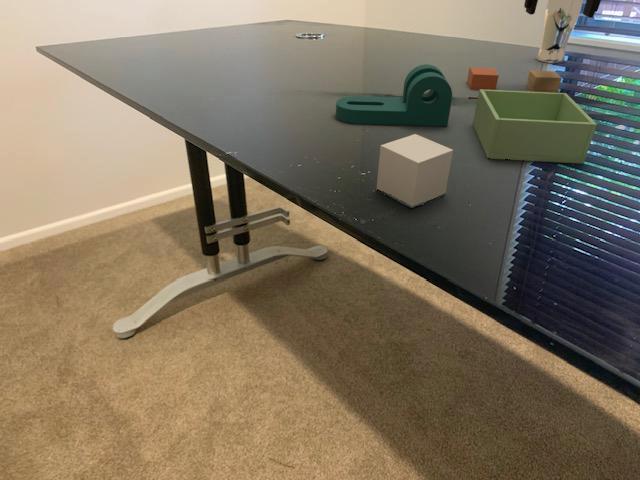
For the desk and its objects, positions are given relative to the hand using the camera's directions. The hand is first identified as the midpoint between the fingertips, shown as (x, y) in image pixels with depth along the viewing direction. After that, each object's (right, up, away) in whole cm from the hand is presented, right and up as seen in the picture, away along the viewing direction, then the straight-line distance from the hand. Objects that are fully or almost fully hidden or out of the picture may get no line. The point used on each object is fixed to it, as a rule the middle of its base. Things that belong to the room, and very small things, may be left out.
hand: (558, 14), depth 86 cm
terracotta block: (-11, -11, +9) cm, 18 cm away
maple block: (0, -12, +8) cm, 14 cm away
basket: (-10, -24, -10) cm, 27 cm away
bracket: (-29, -18, -2) cm, 34 cm away
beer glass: (+13, +3, +31) cm, 34 cm away
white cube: (-29, -33, -23) cm, 50 cm away
